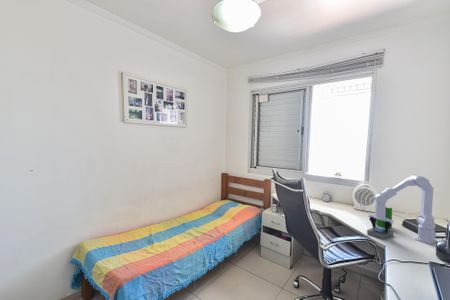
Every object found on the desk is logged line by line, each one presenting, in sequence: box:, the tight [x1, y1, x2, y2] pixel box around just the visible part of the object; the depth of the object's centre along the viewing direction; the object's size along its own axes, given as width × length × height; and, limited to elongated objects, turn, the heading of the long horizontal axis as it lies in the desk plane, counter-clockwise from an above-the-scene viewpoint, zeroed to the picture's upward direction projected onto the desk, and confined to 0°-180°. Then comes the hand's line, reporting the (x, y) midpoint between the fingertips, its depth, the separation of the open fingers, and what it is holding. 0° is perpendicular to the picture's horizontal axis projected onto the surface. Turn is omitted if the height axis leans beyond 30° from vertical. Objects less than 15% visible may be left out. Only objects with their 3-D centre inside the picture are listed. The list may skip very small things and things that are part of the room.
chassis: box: [366, 225, 395, 241], centre depth 142 cm, size 14×10×3 cm
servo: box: [374, 226, 385, 233], centre depth 142 cm, size 7×4×6 cm, turn 117°
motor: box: [376, 207, 393, 229], centre depth 157 cm, size 10×9×20 cm
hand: (380, 229), depth 142 cm, fingers open, 7 cm apart
